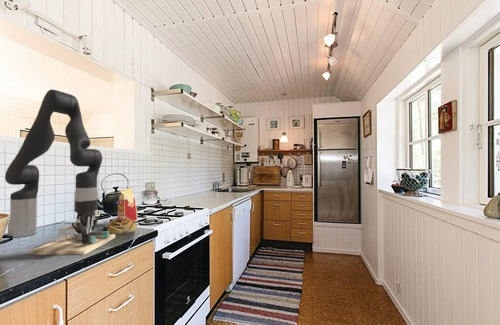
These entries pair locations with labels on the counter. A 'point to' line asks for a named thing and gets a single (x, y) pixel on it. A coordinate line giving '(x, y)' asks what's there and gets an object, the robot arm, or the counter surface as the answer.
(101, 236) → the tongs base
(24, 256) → the counter surface
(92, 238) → the tong arm
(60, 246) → the board
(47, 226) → the counter surface
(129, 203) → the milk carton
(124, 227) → the pastry
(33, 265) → the counter surface
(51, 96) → the robot arm
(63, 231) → the grey l-shaped block
